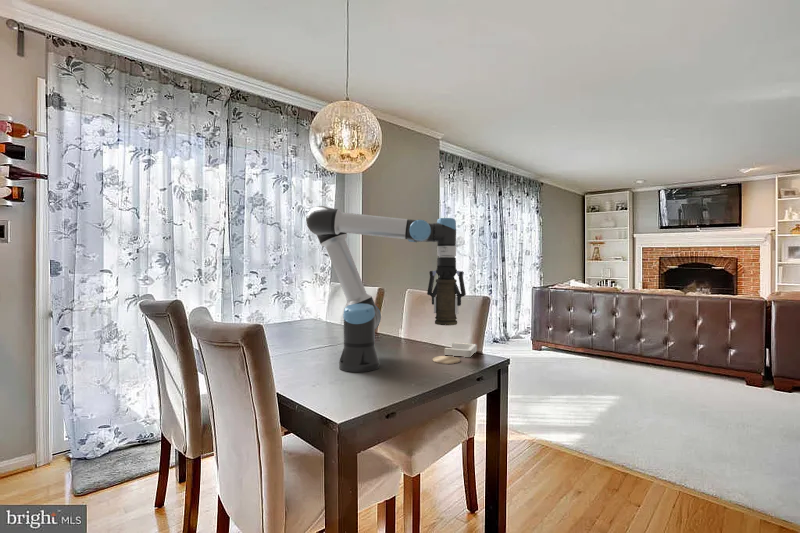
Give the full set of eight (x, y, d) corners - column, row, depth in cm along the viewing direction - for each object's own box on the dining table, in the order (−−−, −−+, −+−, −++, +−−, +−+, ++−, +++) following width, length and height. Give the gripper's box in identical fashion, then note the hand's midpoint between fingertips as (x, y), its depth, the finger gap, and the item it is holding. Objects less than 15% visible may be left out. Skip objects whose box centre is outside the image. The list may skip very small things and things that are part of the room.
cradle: (444, 355, 178) (444, 348, 178) (452, 348, 191) (452, 342, 191) (470, 357, 174) (470, 350, 174) (477, 350, 187) (477, 344, 187)
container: (458, 325, 165) (458, 279, 165) (435, 325, 165) (436, 279, 165) (455, 322, 174) (456, 278, 174) (434, 322, 174) (434, 278, 174)
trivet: (429, 362, 166) (429, 361, 166) (437, 356, 177) (437, 355, 177) (456, 365, 162) (456, 363, 162) (462, 358, 173) (462, 357, 173)
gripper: (418, 256, 169) (418, 313, 170) (470, 256, 162) (469, 315, 162) (424, 256, 176) (424, 311, 177) (474, 256, 169) (473, 313, 169)
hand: (446, 313), depth 169 cm, fingers closed on container, 8 cm apart
